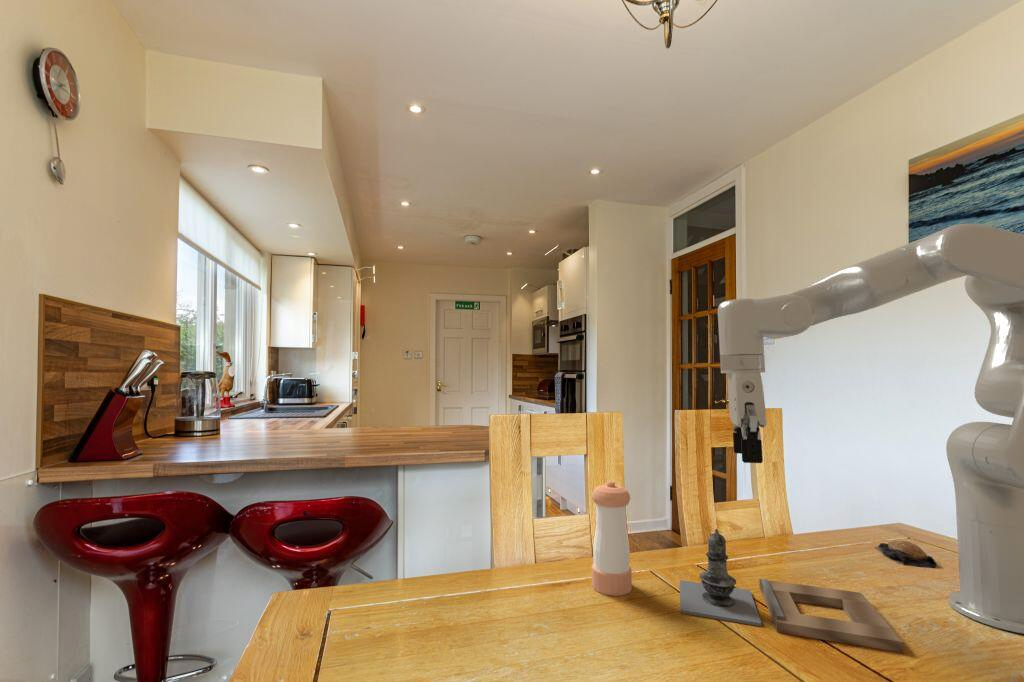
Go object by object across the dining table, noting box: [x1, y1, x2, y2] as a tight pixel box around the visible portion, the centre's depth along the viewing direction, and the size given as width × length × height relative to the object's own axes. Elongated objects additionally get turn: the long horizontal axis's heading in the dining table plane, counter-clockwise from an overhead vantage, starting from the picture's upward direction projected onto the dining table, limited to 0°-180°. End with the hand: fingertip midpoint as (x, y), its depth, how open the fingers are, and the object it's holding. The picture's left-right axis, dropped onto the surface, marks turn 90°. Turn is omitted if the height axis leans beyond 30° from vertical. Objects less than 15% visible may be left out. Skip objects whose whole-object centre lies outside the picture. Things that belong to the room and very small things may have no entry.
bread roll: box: [874, 540, 940, 569], centre depth 103 cm, size 11×8×4 cm
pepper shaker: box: [591, 480, 633, 596], centre depth 88 cm, size 7×7×19 cm
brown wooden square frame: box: [758, 578, 904, 653], centre depth 78 cm, size 16×16×2 cm
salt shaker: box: [699, 528, 737, 607], centre depth 82 cm, size 6×6×12 cm
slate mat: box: [679, 579, 763, 627], centre depth 82 cm, size 12×12×1 cm
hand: (747, 457), depth 88 cm, fingers open, 9 cm apart
